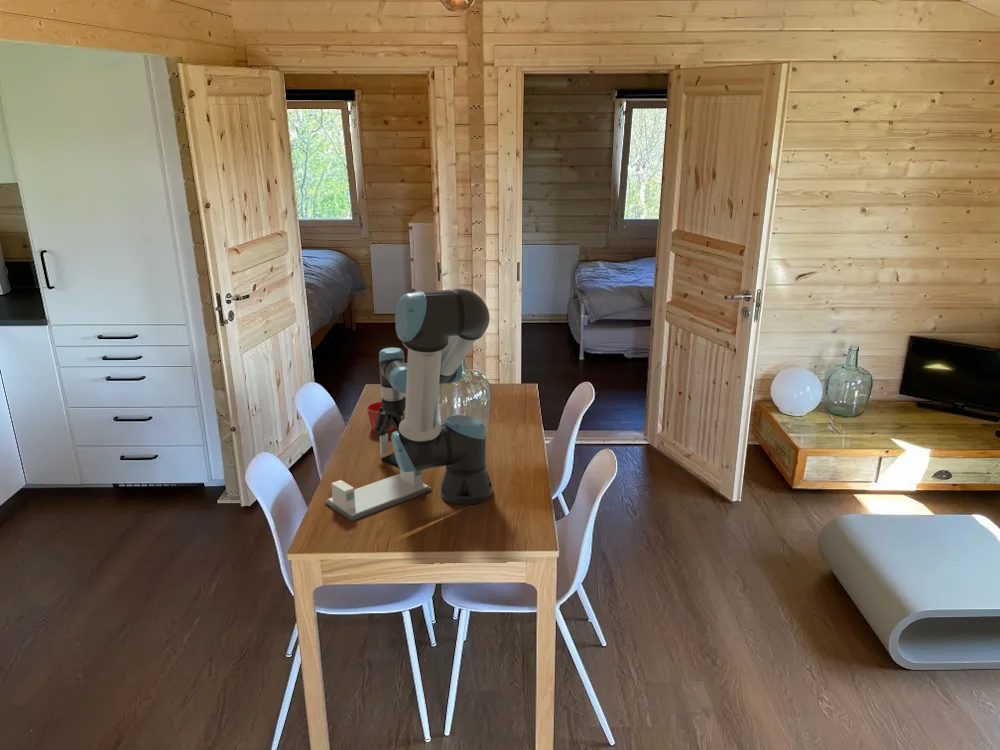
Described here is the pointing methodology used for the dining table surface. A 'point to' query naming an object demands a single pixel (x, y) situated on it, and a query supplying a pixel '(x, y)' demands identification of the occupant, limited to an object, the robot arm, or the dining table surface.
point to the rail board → (375, 494)
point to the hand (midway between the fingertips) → (396, 460)
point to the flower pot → (375, 414)
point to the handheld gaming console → (390, 459)
